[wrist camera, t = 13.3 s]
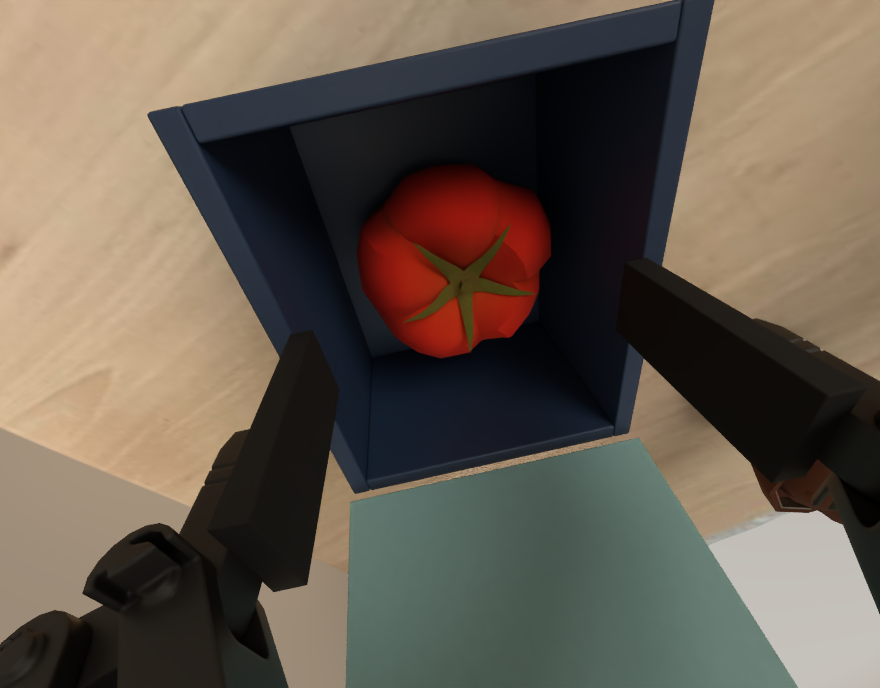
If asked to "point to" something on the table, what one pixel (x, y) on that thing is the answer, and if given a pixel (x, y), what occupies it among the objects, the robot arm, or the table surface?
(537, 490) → the chest lid
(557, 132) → the chest
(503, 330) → the tomato
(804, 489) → the ice cream bowl
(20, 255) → the table surface
